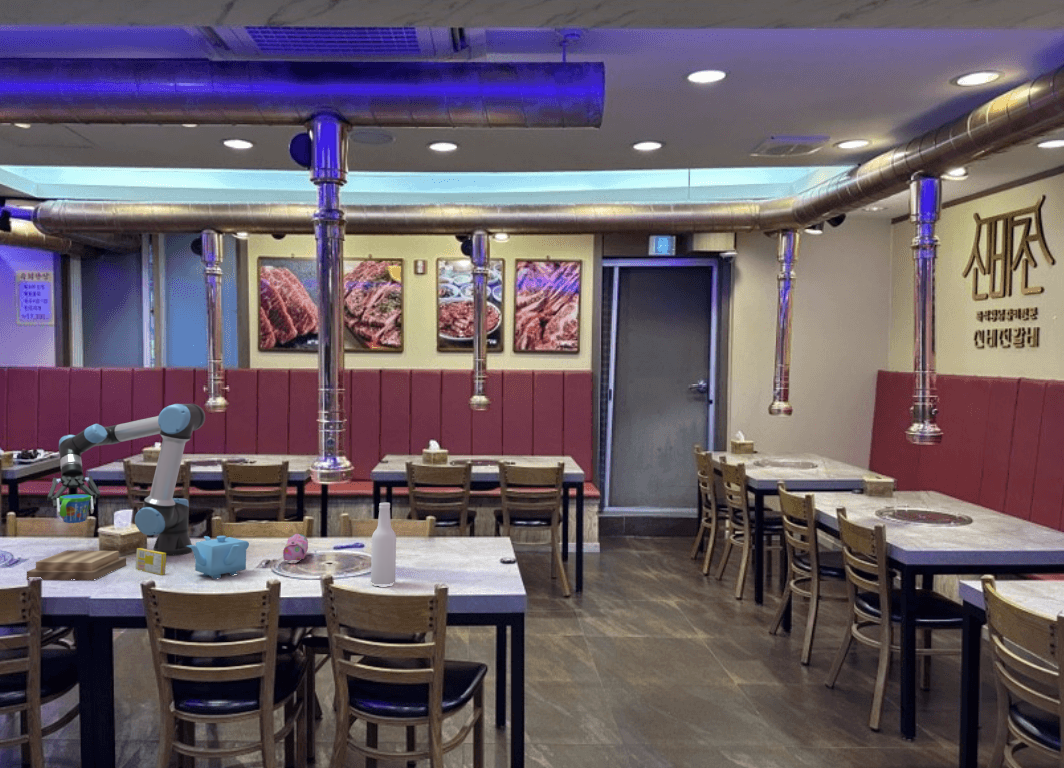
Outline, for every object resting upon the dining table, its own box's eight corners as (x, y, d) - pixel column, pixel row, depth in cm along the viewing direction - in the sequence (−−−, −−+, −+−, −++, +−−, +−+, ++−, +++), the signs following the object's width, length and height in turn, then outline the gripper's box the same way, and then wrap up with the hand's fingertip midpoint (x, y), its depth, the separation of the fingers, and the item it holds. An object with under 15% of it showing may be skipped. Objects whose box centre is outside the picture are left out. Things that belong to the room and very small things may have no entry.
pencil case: (304, 564, 313) (305, 542, 313) (281, 565, 311) (281, 542, 311) (309, 553, 334) (309, 532, 334) (287, 553, 332) (287, 532, 332)
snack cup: (76, 517, 312) (77, 492, 311) (100, 519, 310) (101, 493, 310) (47, 524, 296) (48, 498, 296) (72, 526, 295) (73, 499, 295)
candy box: (166, 574, 293) (166, 552, 293) (160, 575, 291) (161, 553, 291) (140, 568, 301) (140, 547, 301) (135, 569, 299) (135, 548, 299)
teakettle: (251, 569, 304) (252, 531, 304) (238, 581, 285) (239, 541, 285) (201, 569, 302) (202, 531, 302) (185, 581, 283) (186, 541, 283)
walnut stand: (126, 565, 306) (126, 549, 306) (93, 580, 282) (94, 564, 282) (64, 564, 305) (64, 549, 305) (26, 579, 281) (26, 563, 281)
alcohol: (396, 581, 289) (398, 501, 289) (393, 587, 280) (395, 505, 280) (373, 581, 288) (374, 501, 288) (368, 587, 280) (370, 504, 280)
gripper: (102, 472, 322) (107, 515, 310) (37, 475, 309) (39, 520, 296) (105, 461, 318) (110, 504, 306) (38, 463, 304) (41, 509, 292)
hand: (75, 512), depth 301 cm, fingers closed on snack cup, 11 cm apart
